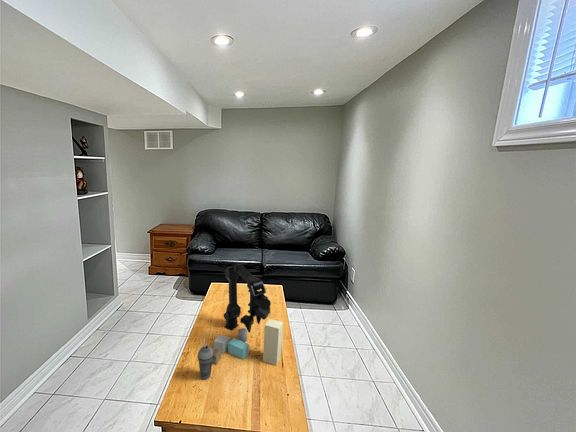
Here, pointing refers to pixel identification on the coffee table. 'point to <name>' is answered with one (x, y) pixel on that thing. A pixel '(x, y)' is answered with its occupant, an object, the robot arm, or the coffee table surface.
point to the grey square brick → (221, 343)
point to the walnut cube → (216, 356)
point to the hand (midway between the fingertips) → (254, 327)
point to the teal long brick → (238, 348)
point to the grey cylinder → (242, 334)
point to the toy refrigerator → (272, 341)
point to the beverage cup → (205, 361)
